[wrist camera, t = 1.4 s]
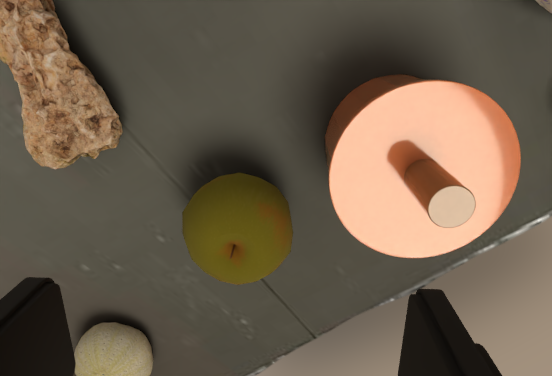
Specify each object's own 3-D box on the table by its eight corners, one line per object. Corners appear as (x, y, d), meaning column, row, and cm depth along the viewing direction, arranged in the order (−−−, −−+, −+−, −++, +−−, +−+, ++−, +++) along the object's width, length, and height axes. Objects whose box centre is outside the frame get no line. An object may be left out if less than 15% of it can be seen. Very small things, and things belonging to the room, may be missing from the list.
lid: (320, 90, 28) (328, 106, 22) (520, 66, 27) (590, 75, 21) (334, 257, 33) (343, 309, 26) (504, 243, 32) (557, 293, 25)
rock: (-81, 13, 33) (-12, -55, 29) (-24, 13, 37) (43, -45, 33) (38, 187, 37) (113, 148, 33) (76, 168, 41) (146, 132, 37)
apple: (178, 192, 41) (140, 243, 30) (254, 140, 38) (241, 177, 28) (236, 262, 43) (219, 331, 33) (310, 217, 41) (316, 277, 31)
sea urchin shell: (54, 358, 47) (56, 373, 40) (105, 303, 51) (115, 308, 44) (113, 403, 49) (124, 424, 42) (157, 347, 53) (174, 358, 46)
